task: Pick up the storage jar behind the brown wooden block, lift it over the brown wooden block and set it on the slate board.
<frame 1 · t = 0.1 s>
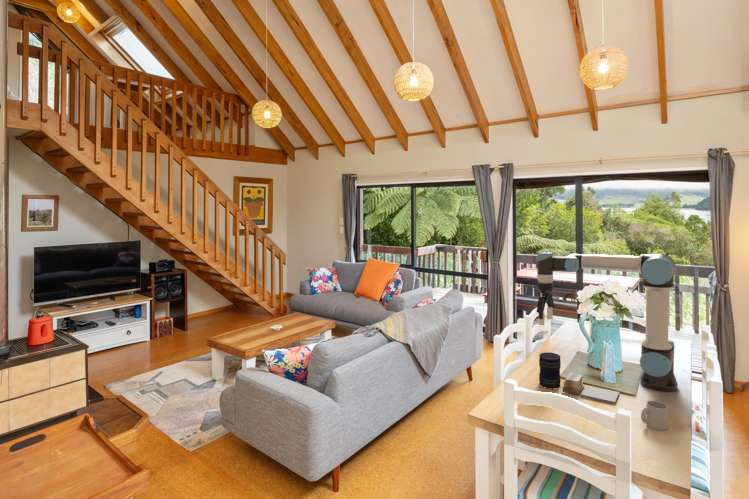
hand: (545, 322, 224), 28 cm above the table, tool pointing down, fingers open, 13 cm apart
slate board: (600, 395, 199), on the table
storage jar: (549, 385, 213), on the table
cup: (653, 426, 171), on the table
brown wooden block: (573, 389, 206), on the table
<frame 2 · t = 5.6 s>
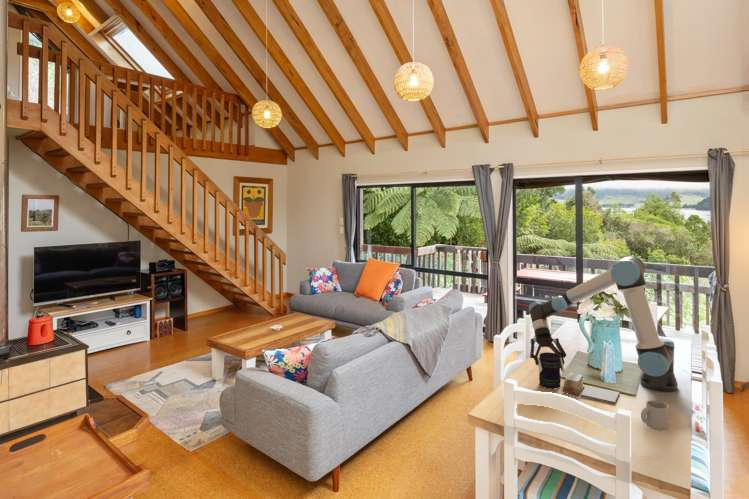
hand: (551, 370, 209), 8 cm above the table, tool tilted 45°, fingers closed on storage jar, 10 cm apart
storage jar: (549, 385, 213), on the table, touching gripper
everything else where it was.
when the fingers open (11 cm above the table, at t = 13.6 s): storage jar drops 1 cm, resting on slate board.
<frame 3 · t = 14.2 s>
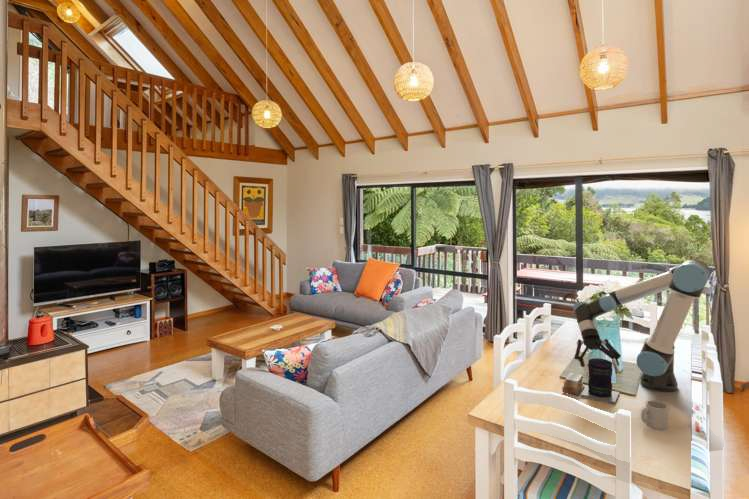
hand: (602, 373, 195), 12 cm above the table, tool tilted 45°, fingers open, 13 cm apart
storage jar: (599, 393, 199), point 1 cm above the table, touching slate board
everything else where it was.
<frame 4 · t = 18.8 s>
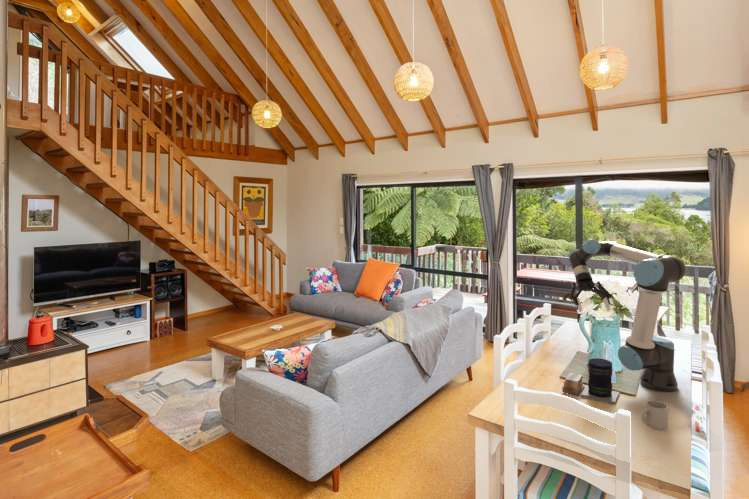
hand: (594, 310, 214), 36 cm above the table, tool tilted 45°, fingers open, 13 cm apart
nothing on the table moved.
at the end: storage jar inside the target area on the slate board (0.1 cm from its centre), point 1.0 cm above the slate board's base; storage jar tilted 0°; the gripper is holding nothing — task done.
